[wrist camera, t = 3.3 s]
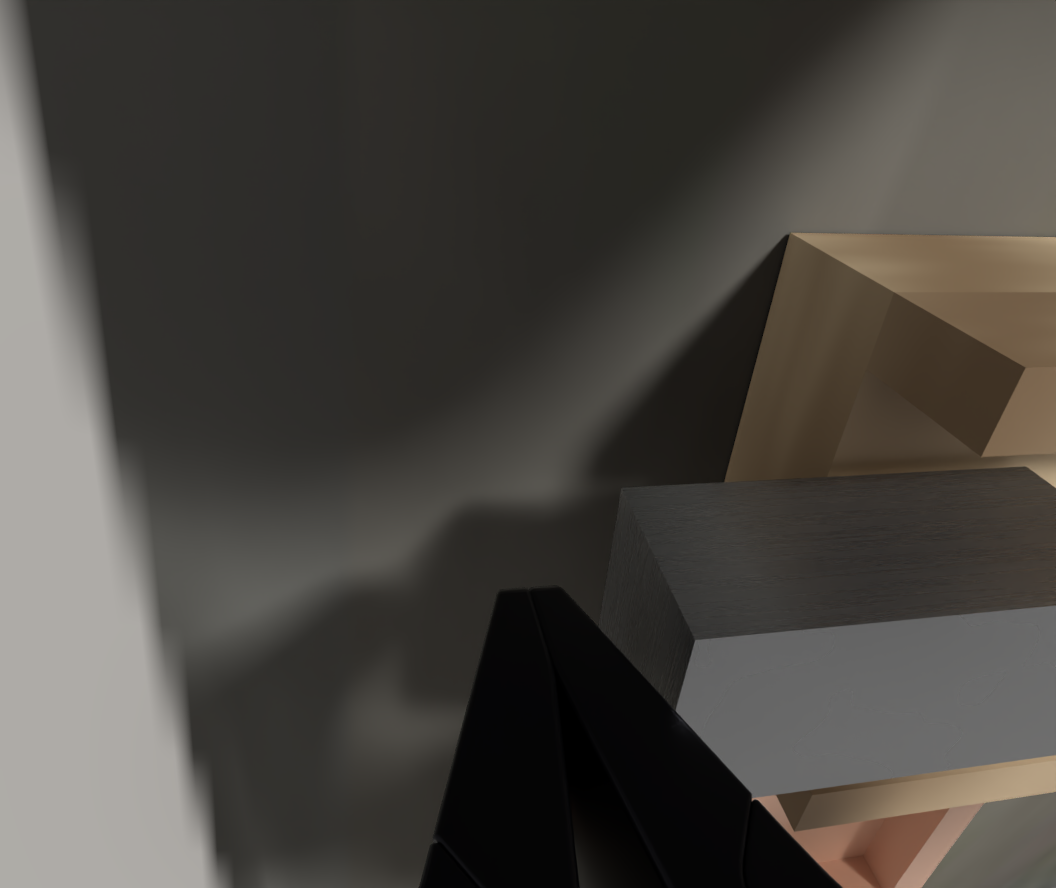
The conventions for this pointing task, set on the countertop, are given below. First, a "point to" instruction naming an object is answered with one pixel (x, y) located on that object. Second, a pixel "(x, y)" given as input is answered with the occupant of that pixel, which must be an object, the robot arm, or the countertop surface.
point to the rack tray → (881, 845)
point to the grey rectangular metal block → (845, 620)
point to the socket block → (906, 414)
